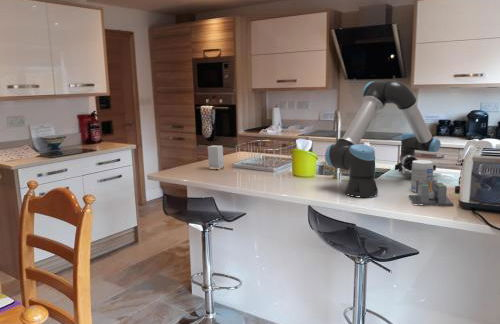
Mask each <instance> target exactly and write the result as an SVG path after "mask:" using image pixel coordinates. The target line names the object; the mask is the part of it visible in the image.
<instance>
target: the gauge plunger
mask: <svg viewBox="0 0 500 324" xmlns="http://www.w3.org/2000/svg"><path fill="white" fill-rule="evenodd" d="M418 183H426V184H427V185H428V186H429V199H434V186H435V183H438V179H433V180H431V179H416V189H415V192H414V193H415V194H417V192H418Z"/></svg>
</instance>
